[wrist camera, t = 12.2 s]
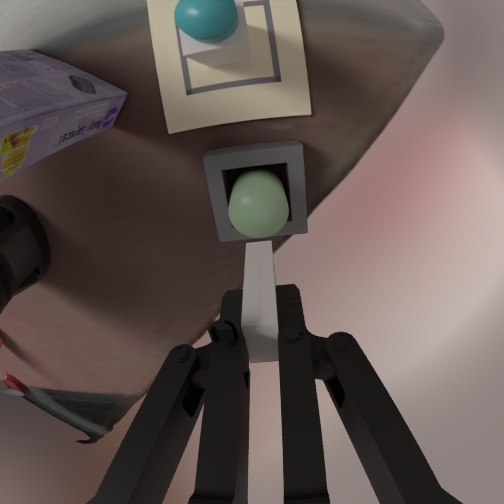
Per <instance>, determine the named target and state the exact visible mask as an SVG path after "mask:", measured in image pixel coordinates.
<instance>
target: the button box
mask: <svg viewBox="0 0 504 504" xmlns="http://www.w3.org/2000/svg"><path fill="white" fill-rule="evenodd" d="M202 158H203V163H204V168H205V174H206V179H207V184H208V189H209V193H210V198H211V203H212V208H213V213H214V217H215V222H216V227H217V232H218V236H219V241H220V242H227V241H236V240H246V239H255V238H253V237H249V236H246V235H244V234H242V233H240V232H239V231H238V230H237V229H236V228H235V227H234V226H233V225H232V223H231V221H230V218H229V213H228V208H229V203H230V198H231V196H230V190H229V184H228V179H227V173H226V170H227V169H234V168H242V167H250V166H259V165H268V164H277V163H285V168H286V179H287V190H288V202H289V214H288V218H287V221H286V223H285V225H284V226H283V227H282V228H281V229H280V230H279V231H278V232H277V233H275V234H273V235H271V236H268V237H274V236H284V235H293V234H303V233H308V229H307V205H306V187H305V171H304V157H303V145H302V144H301V143H300V142H299V140H285V141H275V142H265V143H256V144H248V145H240V146H233V147H226V148H219V149H213V150H207V152H206V153H205V154H204V156H203V157H202Z"/></svg>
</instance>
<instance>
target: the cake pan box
mask: <svg viewBox="0 0 504 504" xmlns="http://www.w3.org/2000/svg"><path fill="white" fill-rule="evenodd" d="M127 95H128V93H127V92H126V91H124V90H122V89H119V88H117V87H115V86H113V85H111V84H109V83H107V82H105V81H103V80H101V79H99V78H97V77H95V76H93V75H91V74H89V73H87V72H84V71H83V70H81V69H79V68H77V67H74V66H72V65H70V64H67V63H65V62H63V61H59V60H56V59H54V58H51V57H49V56H46V55H43V54H40V53H37V52H34V51H32V50H12V51H2V52H0V184H1V183H2V182H4V181H5V180H7V179H9V178H10V177H12V176H14V175H15V174H17V173H19V172H20V171H22V170H24V169H26V168H27V167H29V166H31V165H33V164H34V163H36V162H38V161H40V160H42V159H43V158H45V157H47V156H49V155H51V154H53V153H55V152H57V151H59V150H61V149H63V148H66V147H68V146H70V145H72V144H74V143H76V142H79V141H81V140H83V139H86V138H88V137H90V136H92V135H95V134H97V133H100V132H102V131H105V130H107V129H110V128H112V126H113V124H114V122H115V120H116V118H117V116H118V113H119V111H120V109H121V107H122V105H123V103H124V101H125V99H126V97H127Z"/></svg>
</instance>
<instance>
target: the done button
mask: <svg viewBox="0 0 504 504" xmlns="http://www.w3.org/2000/svg"><path fill="white" fill-rule="evenodd" d="M228 213H229V218H230V221H231V223H232V225H233V226H234V227H235V228H236V229H237V230H238V231H239V232H240V233H242V234H244V235H246V236H249V237H253V238H264V237H268V236H271V235H273V234H275V233H277V232H278V231H279V230H280V229H281V228H282V227H283V226H284V225H285V223H286V221H287V218H288V214H289V208H288V203H287V199H286V195H285V191H284V188H283V184H282V182H281V180H280V179H279V177H278V176H277V175H276V174H275V173H273V172H271V171H269V170H267V169H263V168H253V169H249V170H247V171H245V172H243V173H242V174H241V175H239V177H238V178H237V179H236V181H235V183H234V185H233V189H232V194H231V198H230V203H229V208H228Z"/></svg>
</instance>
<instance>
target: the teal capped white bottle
mask: <svg viewBox="0 0 504 504" xmlns="http://www.w3.org/2000/svg"><path fill="white" fill-rule="evenodd" d="M175 4H176V7H175V11H174V19H175V22H176V24H177V26H178V27H179V33H180V39H181V46H182V52H183V56H185V57H187V58H189V59H192V60H194V61H196V62H198V63H201V64H203V65H205V66H207V67H214V66H220V65H226V64H232V63H239V62H247V61H252V58H251V50H250V42H249V36H248V29H247V23H246V17H245V11H244V5H243V0H179V2H176V3H175Z"/></svg>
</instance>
